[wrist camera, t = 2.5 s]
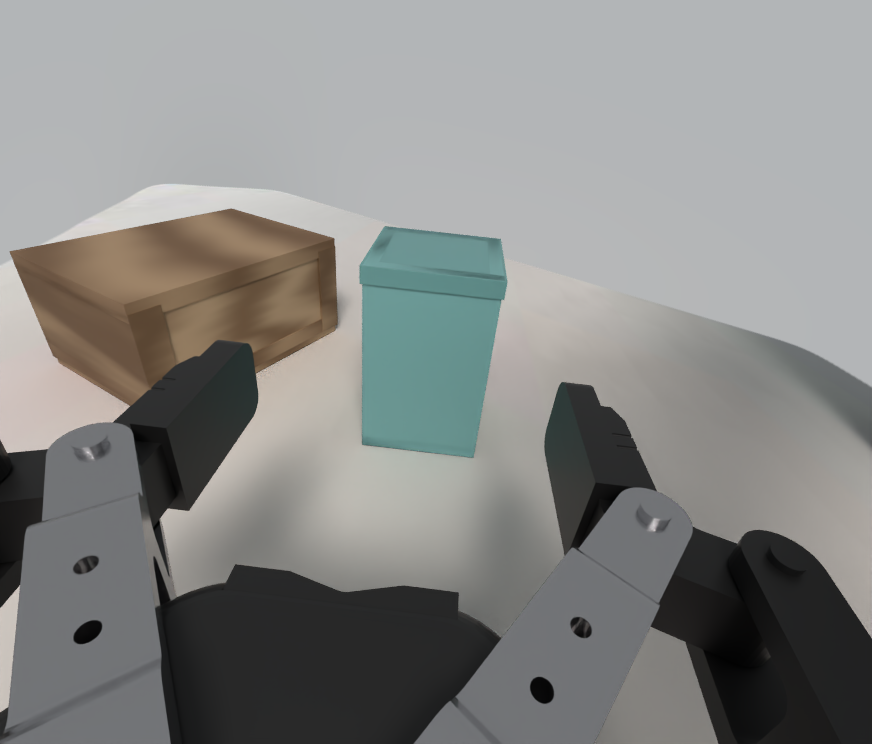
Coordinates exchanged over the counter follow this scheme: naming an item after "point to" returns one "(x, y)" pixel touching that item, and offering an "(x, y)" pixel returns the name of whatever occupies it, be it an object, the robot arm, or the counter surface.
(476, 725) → the robot arm
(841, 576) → the counter surface
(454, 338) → the teal lidded bin
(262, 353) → the wooden crate
